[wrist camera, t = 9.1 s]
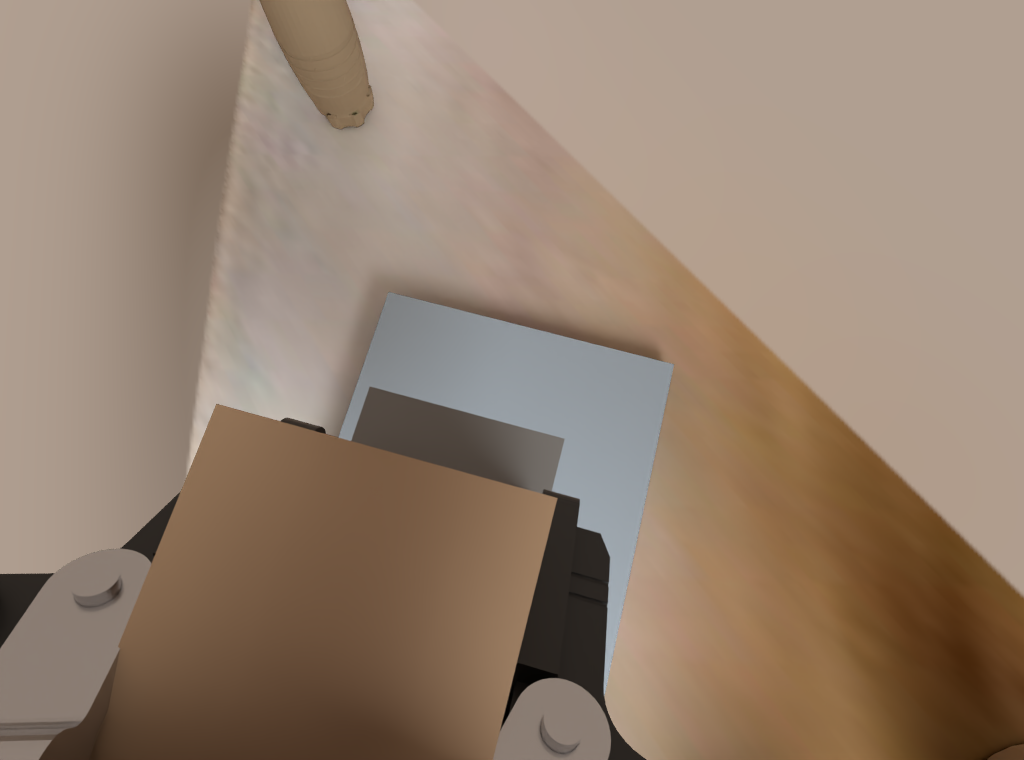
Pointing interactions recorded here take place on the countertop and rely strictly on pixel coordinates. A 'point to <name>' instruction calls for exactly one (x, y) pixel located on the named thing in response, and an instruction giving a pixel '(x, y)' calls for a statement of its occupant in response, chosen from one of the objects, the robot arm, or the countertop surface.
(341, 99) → the handle
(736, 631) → the countertop surface
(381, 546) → the block
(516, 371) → the board
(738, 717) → the countertop surface
